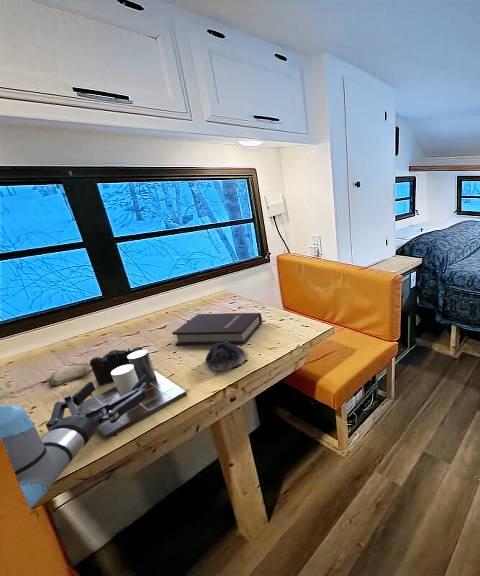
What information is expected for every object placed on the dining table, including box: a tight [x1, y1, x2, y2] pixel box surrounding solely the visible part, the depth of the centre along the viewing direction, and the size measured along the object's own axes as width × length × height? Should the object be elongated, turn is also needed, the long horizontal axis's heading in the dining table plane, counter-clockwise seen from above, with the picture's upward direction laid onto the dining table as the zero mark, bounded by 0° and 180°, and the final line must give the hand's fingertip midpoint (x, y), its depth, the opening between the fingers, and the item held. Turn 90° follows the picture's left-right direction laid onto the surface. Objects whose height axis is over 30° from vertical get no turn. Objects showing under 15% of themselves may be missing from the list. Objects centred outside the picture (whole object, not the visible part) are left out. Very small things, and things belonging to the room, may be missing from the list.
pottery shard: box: [50, 362, 91, 386], centre depth 106 cm, size 11×4×10 cm
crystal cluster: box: [205, 341, 246, 372], centre depth 110 cm, size 13×14×10 cm
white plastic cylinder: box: [111, 365, 139, 397], centre depth 90 cm, size 5×5×10 cm
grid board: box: [76, 369, 188, 440], centre depth 92 cm, size 22×20×2 cm
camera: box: [89, 346, 144, 386], centre depth 105 cm, size 14×11×10 cm
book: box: [172, 312, 263, 347], centre depth 132 cm, size 28×20×6 cm
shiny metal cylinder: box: [127, 349, 156, 384], centre depth 98 cm, size 5×5×10 cm
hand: (120, 381), depth 87 cm, fingers open, 13 cm apart
